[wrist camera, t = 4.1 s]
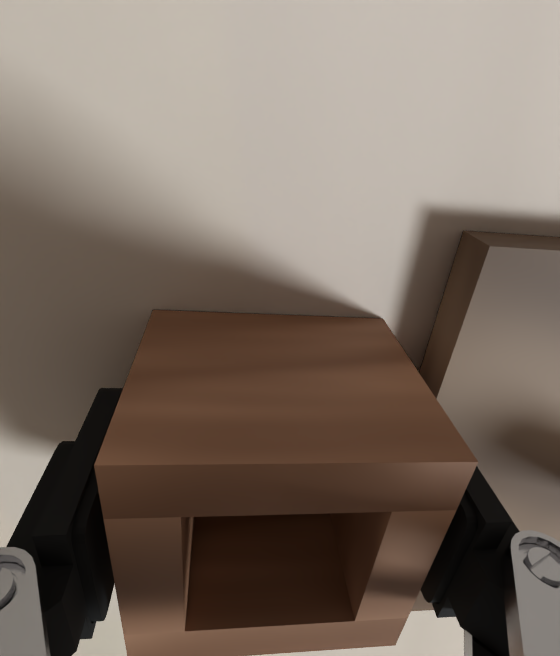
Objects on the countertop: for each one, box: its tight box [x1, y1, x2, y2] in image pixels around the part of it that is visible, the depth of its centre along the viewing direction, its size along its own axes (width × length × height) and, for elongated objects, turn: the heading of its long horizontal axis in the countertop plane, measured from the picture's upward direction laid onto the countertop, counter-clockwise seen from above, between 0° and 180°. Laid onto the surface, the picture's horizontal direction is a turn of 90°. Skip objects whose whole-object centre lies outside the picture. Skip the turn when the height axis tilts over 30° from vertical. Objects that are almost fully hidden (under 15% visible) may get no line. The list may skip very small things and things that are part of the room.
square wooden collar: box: [94, 310, 478, 656], centre depth 11 cm, size 10×6×5 cm, turn 175°
